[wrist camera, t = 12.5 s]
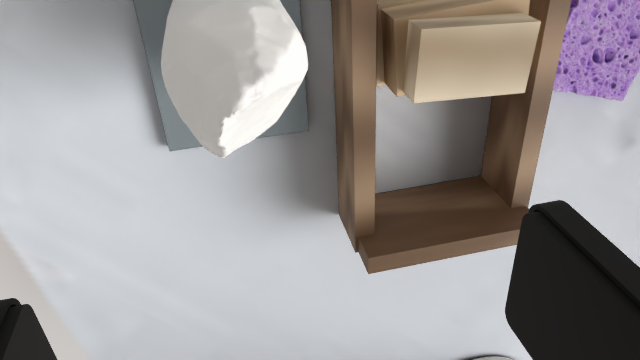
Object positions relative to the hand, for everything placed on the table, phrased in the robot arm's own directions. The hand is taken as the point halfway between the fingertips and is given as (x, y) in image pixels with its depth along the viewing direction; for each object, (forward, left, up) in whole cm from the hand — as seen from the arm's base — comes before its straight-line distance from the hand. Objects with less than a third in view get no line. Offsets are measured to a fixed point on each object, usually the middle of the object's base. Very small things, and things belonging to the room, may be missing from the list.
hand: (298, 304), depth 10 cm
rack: (-6, -11, -20) cm, 24 cm away
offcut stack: (-2, -11, -20) cm, 23 cm away
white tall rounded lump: (0, 0, -20) cm, 20 cm away
